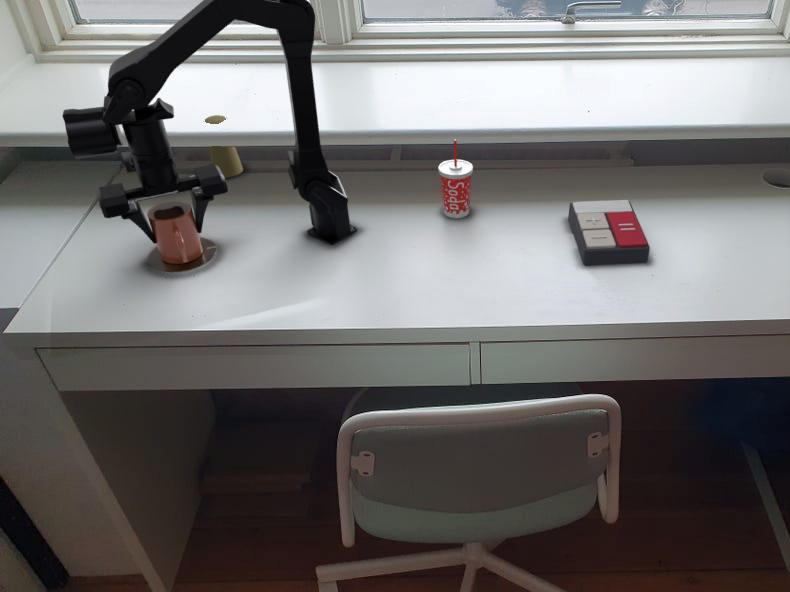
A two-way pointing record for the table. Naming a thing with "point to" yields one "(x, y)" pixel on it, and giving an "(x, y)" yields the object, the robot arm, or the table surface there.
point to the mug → (175, 231)
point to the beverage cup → (456, 185)
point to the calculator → (608, 232)
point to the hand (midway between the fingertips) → (177, 237)
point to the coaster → (161, 265)
